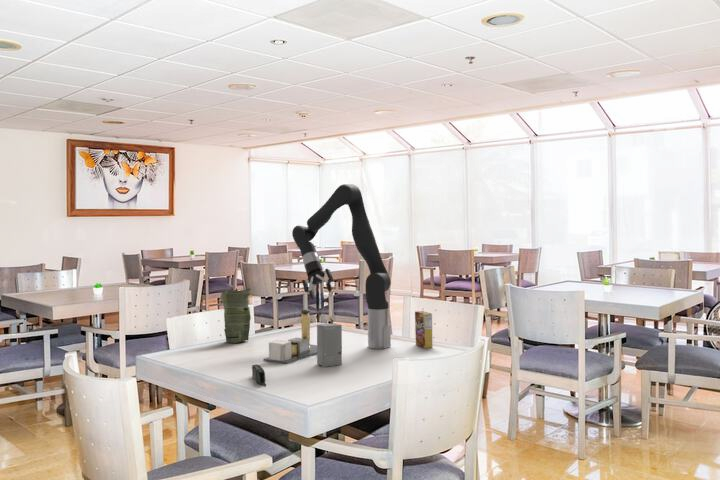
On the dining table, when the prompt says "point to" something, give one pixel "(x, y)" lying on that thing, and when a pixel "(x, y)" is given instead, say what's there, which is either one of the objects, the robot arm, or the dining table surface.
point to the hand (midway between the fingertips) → (321, 295)
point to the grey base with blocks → (302, 351)
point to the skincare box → (329, 344)
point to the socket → (280, 350)
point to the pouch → (236, 315)
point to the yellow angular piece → (303, 331)
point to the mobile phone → (258, 374)
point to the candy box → (423, 329)
